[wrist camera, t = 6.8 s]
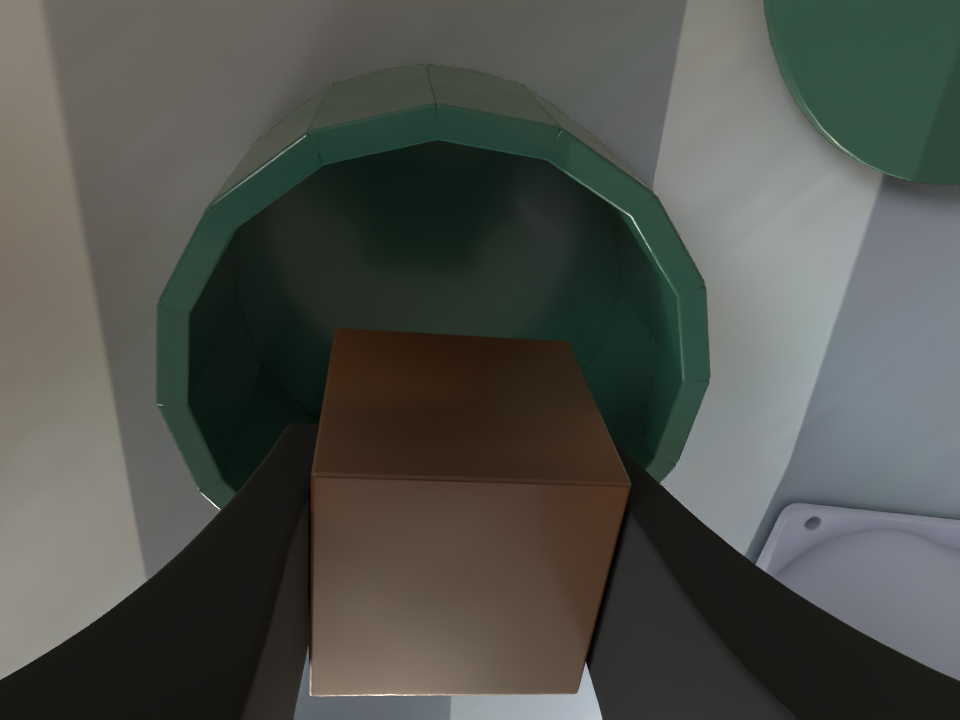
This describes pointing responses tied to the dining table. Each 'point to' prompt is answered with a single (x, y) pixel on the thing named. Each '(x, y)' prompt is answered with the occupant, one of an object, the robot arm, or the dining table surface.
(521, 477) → the block
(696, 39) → the dining table surface
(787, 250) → the dining table surface
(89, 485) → the dining table surface
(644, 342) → the tin
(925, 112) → the tin lid
